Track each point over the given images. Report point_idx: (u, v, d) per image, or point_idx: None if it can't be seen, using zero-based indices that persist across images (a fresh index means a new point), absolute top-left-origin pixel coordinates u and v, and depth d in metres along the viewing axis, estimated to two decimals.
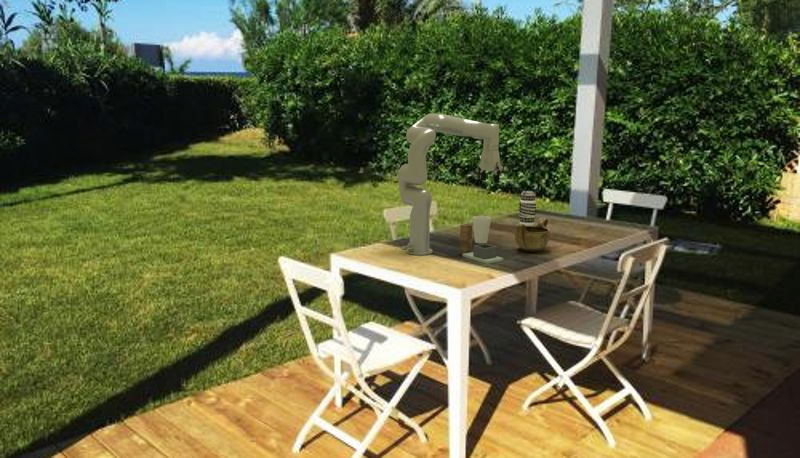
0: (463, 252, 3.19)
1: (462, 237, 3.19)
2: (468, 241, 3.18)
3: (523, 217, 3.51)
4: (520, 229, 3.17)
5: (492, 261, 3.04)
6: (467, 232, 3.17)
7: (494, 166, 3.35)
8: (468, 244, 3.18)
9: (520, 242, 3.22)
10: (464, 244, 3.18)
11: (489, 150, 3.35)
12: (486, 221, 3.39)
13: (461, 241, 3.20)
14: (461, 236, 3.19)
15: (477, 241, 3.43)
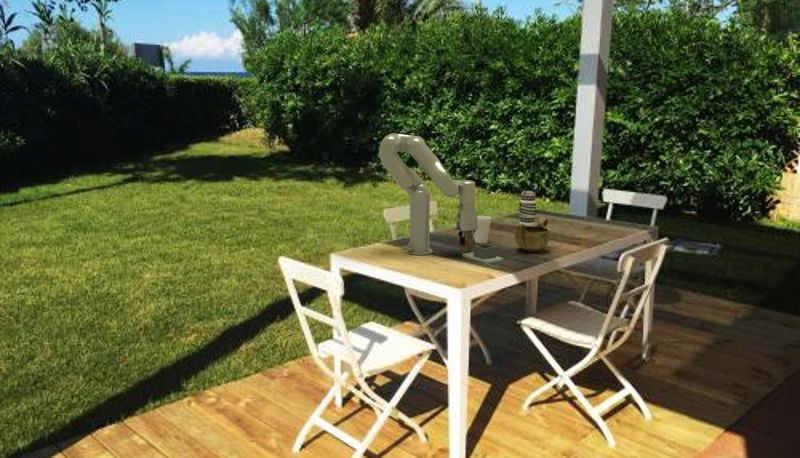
0: (463, 252, 3.19)
1: None
2: (468, 241, 3.18)
3: (523, 217, 3.51)
4: (520, 229, 3.17)
5: (492, 261, 3.04)
6: (467, 232, 3.17)
7: None
8: (468, 244, 3.18)
9: (520, 242, 3.22)
10: None
11: (474, 208, 3.15)
12: (486, 221, 3.39)
13: None
14: None
15: (477, 241, 3.43)
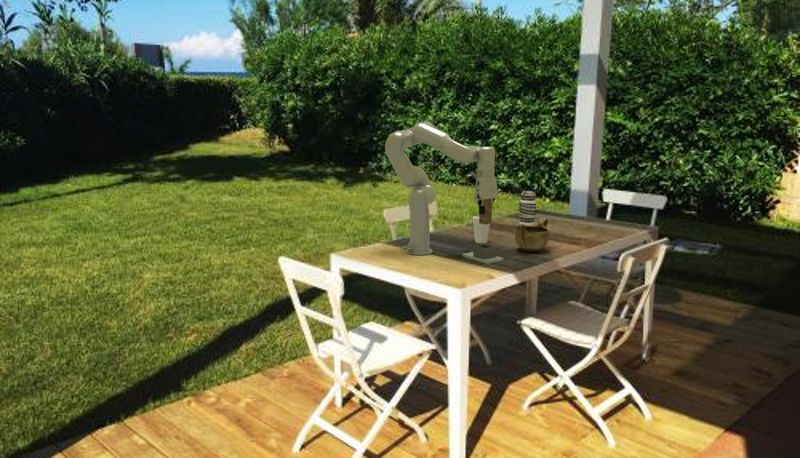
0: (483, 222, 3.06)
1: None
2: (488, 210, 3.05)
3: (523, 217, 3.51)
4: (520, 229, 3.17)
5: (492, 261, 3.04)
6: (487, 200, 3.03)
7: None
8: (488, 213, 3.05)
9: (520, 242, 3.22)
10: None
11: (494, 176, 3.02)
12: None
13: None
14: None
15: (477, 241, 3.43)
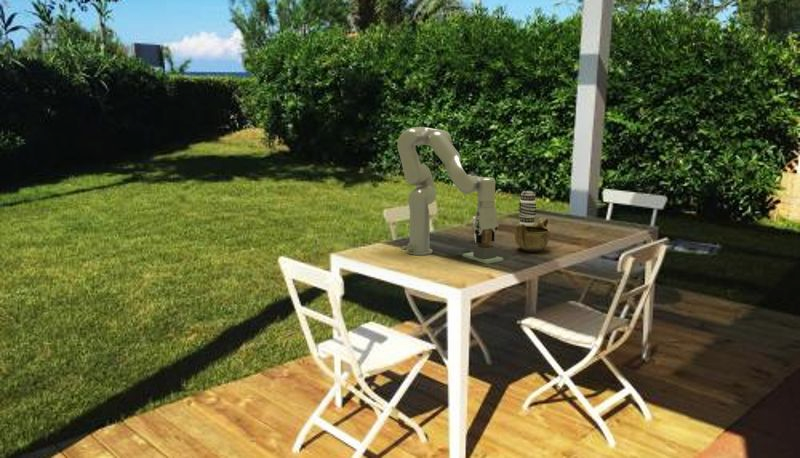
0: None
1: None
2: (488, 244, 3.07)
3: (523, 217, 3.51)
4: (520, 229, 3.17)
5: (492, 261, 3.04)
6: (487, 234, 3.06)
7: None
8: (487, 247, 3.07)
9: (520, 242, 3.22)
10: (483, 247, 3.07)
11: None
12: None
13: (480, 244, 3.09)
14: None
15: None
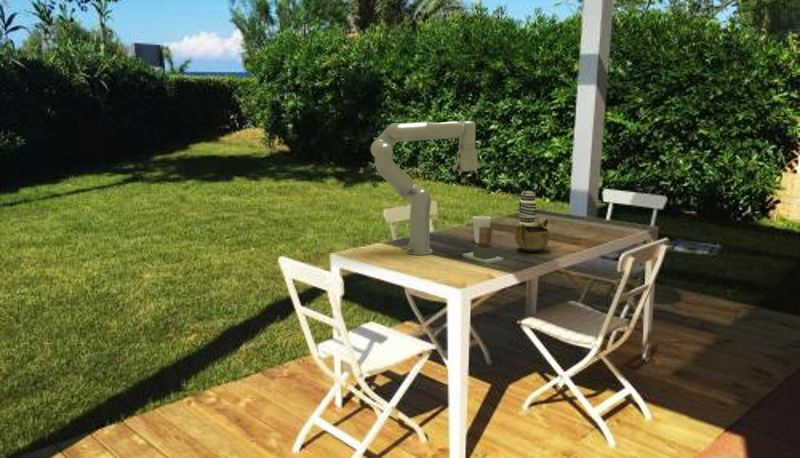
0: None
1: (481, 240, 3.08)
2: (487, 244, 3.07)
3: (523, 217, 3.51)
4: (520, 229, 3.17)
5: (492, 261, 3.04)
6: (486, 234, 3.06)
7: None
8: (487, 247, 3.07)
9: (520, 242, 3.22)
10: (483, 247, 3.07)
11: (474, 149, 3.18)
12: (486, 221, 3.39)
13: (480, 244, 3.09)
14: (480, 239, 3.08)
15: (477, 241, 3.43)
